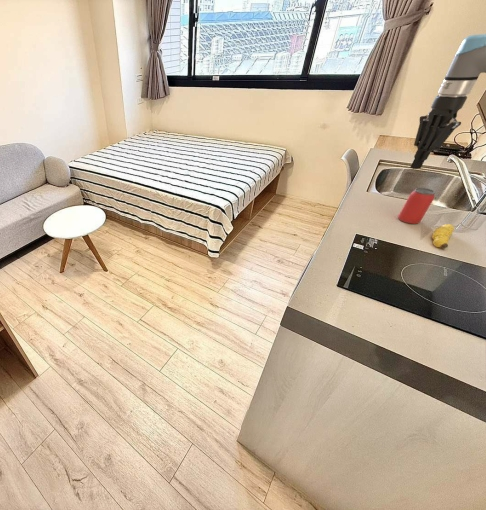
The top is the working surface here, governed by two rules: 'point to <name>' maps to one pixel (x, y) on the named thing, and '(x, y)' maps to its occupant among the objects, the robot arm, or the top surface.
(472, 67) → the robot arm
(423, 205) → the beer can
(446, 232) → the yellow lumpy toy
